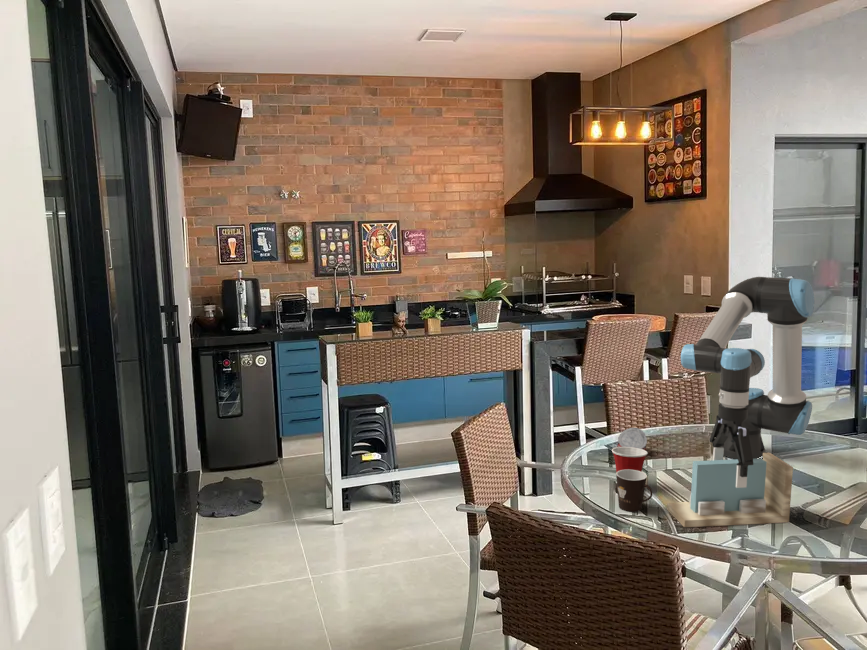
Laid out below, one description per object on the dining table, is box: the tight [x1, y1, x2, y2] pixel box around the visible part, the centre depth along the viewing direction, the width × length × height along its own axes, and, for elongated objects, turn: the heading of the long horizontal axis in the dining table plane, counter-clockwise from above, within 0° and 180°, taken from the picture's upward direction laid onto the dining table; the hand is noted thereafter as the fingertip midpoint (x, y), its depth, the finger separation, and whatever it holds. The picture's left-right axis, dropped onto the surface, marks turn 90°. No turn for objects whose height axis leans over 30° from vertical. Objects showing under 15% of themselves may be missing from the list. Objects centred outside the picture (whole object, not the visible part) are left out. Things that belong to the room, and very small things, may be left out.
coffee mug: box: [615, 469, 653, 513], centre depth 214 cm, size 12×9×10 cm
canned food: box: [616, 427, 648, 451], centre depth 262 cm, size 11×10×10 cm
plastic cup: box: [611, 446, 649, 474], centre depth 231 cm, size 11×11×12 cm
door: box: [690, 458, 767, 513], centre depth 208 cm, size 20×3×14 cm, turn 95°
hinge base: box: [666, 452, 794, 528], centre depth 208 cm, size 30×12×16 cm, turn 95°
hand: (728, 478), depth 208 cm, fingers open, 13 cm apart
